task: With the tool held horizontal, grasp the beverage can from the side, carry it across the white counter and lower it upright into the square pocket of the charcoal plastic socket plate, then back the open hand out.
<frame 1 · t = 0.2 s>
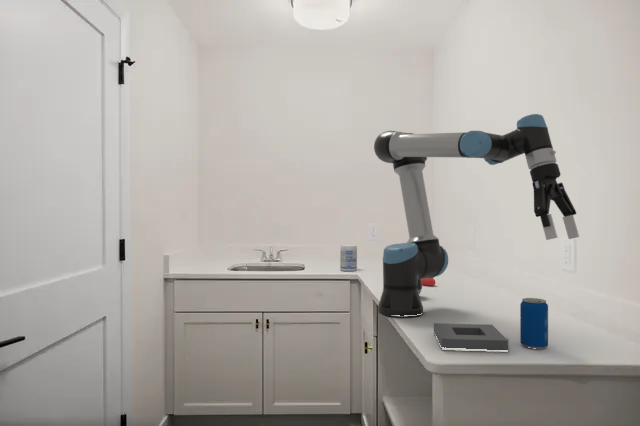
hand: (563, 238, 129), 27 cm above the countertop, fingers open, 13 cm apart
beverage can: (534, 347, 119), on the countertop
supplement tub: (348, 271, 269), on the countertop
socket plate: (468, 342, 123), on the countertop
stress ball: (426, 285, 217), on the countertop
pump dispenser: (409, 297, 188), on the countertop
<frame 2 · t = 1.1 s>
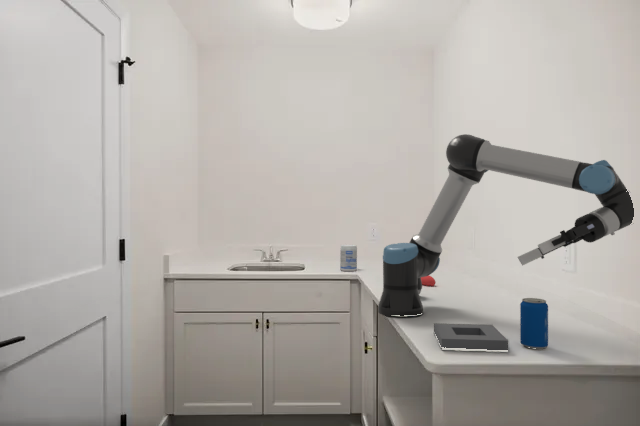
hand: (529, 255, 127), 23 cm above the countertop, fingers open, 13 cm apart
nothing on the countertop moved.
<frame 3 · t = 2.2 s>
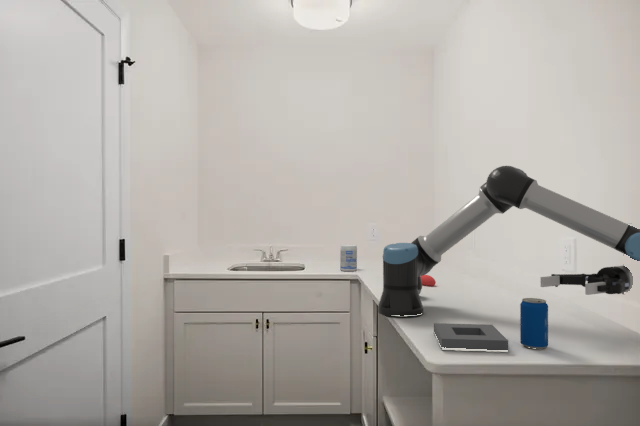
hand: (562, 285, 123), 15 cm above the countertop, fingers open, 13 cm apart
nothing on the countertop moved.
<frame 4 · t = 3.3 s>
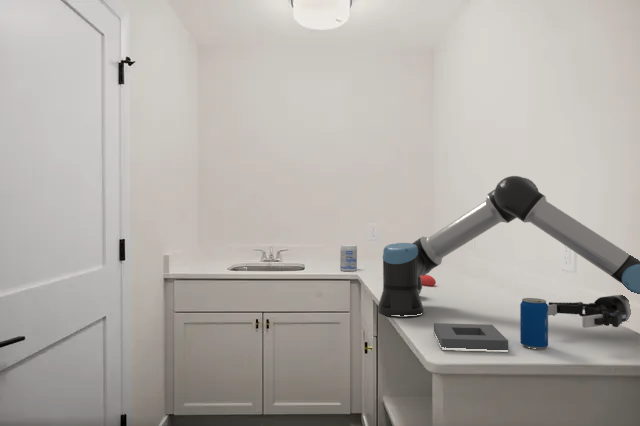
hand: (560, 316, 123), 7 cm above the countertop, fingers open, 13 cm apart
nothing on the countertop moved.
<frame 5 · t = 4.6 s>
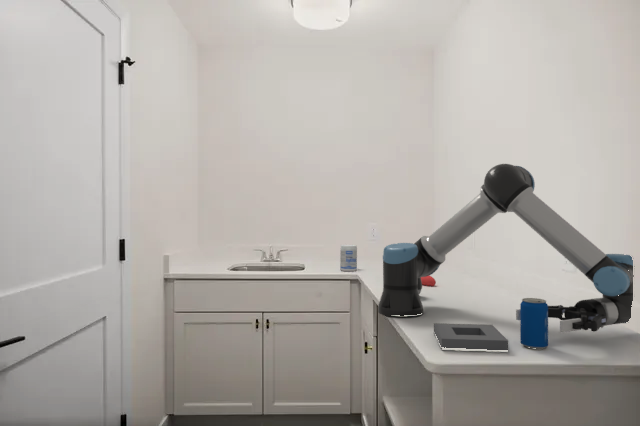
hand: (537, 320, 119), 7 cm above the countertop, fingers open, 13 cm apart
nothing on the countertop moved.
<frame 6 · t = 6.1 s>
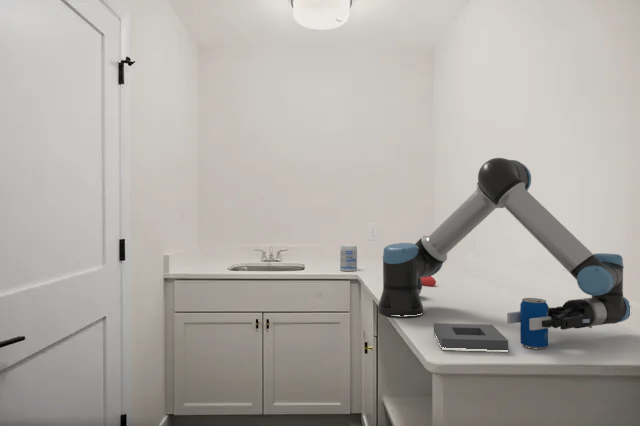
hand: (519, 321, 117), 7 cm above the countertop, fingers closed on beverage can, 6 cm apart
beverage can: (534, 347, 119), on the countertop, touching gripper
everything else where it was.
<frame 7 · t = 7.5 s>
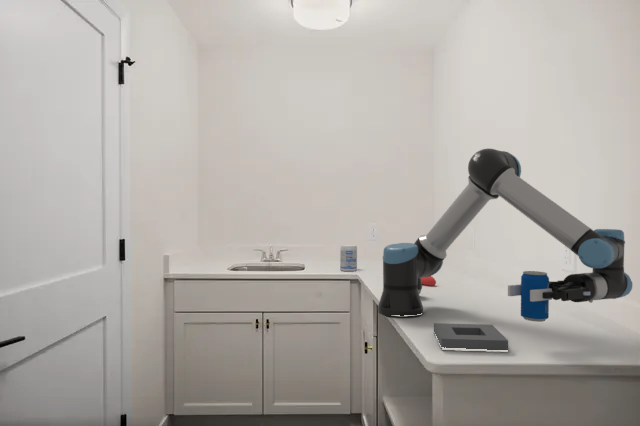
hand: (519, 293, 117), 14 cm above the countertop, fingers closed on beverage can, 6 cm apart
beverage can: (534, 320, 119), point 7 cm above the countertop, touching gripper
everything else where it was.
when the fingers open (8 cm above the countertop, at t = 12.1 s): beverage can stays where it is, resting in socket plate.
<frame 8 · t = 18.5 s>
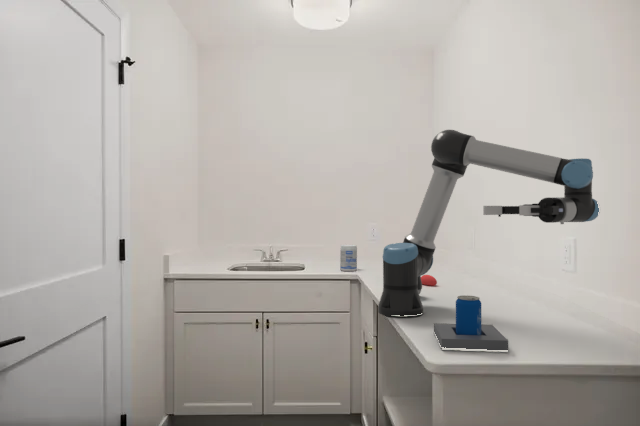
hand: (501, 210, 132), 35 cm above the countertop, fingers open, 13 cm apart
beverage can: (468, 343, 123), resting in socket plate
everything else where it was.
at the end: beverage can 0.0 cm off-centre on the socket plate, point 0.0 cm above the socket plate's base; beverage can tilted 0°; the gripper is holding nothing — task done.
